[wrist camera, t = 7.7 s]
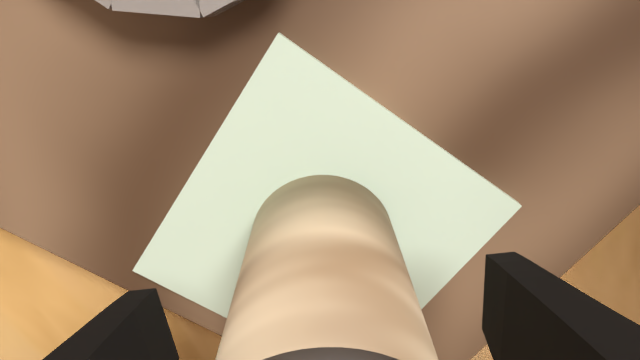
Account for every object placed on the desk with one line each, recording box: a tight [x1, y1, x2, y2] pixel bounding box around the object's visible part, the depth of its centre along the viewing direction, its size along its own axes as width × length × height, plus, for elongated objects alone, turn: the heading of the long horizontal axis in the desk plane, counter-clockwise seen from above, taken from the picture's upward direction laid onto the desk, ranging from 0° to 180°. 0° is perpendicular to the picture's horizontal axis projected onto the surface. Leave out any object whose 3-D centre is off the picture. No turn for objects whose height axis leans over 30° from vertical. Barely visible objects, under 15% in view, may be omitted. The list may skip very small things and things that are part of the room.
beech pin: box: [215, 175, 438, 360], centre depth 9 cm, size 4×4×7 cm
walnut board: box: [0, 0, 640, 360], centre depth 11 cm, size 22×16×2 cm
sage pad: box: [132, 33, 522, 318], centre depth 12 cm, size 8×8×1 cm
